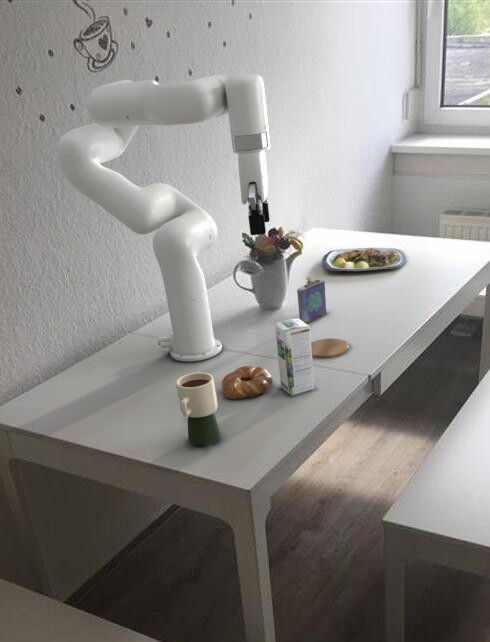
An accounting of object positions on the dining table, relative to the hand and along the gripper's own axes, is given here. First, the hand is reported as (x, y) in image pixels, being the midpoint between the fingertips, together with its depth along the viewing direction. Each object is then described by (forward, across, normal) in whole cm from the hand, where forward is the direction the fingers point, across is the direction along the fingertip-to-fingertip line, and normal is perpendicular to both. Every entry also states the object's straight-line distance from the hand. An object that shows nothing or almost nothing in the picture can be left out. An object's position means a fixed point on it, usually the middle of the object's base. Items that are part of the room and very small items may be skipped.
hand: (260, 228), depth 167 cm
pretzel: (+31, +15, -5) cm, 34 cm away
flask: (+31, -25, +8) cm, 40 cm away
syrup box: (+31, +16, +6) cm, 35 cm away
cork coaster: (+30, -4, +12) cm, 33 cm away
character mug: (+31, +37, -11) cm, 49 cm away
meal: (+31, -69, +22) cm, 79 cm away
